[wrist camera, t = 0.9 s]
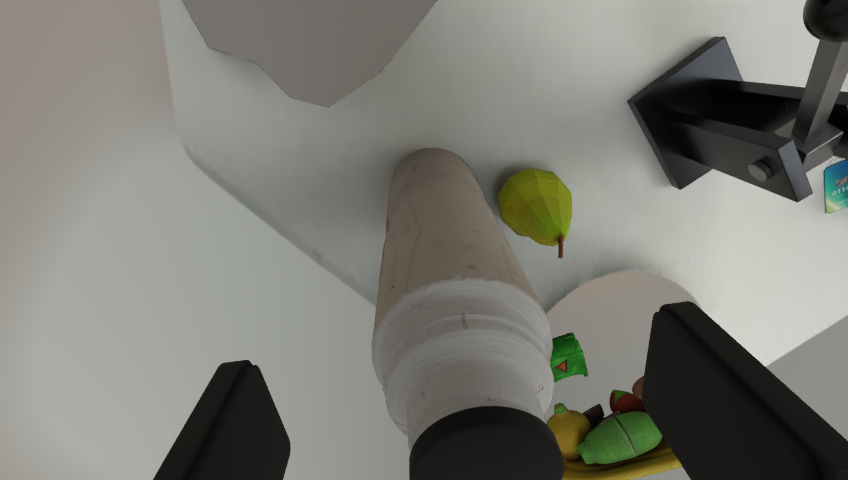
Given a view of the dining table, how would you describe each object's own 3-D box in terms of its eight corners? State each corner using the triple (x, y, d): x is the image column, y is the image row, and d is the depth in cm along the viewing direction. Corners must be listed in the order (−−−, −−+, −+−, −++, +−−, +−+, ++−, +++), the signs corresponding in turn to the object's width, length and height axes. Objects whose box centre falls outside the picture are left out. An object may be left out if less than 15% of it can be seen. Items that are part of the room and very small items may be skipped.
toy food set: (717, 394, 50) (693, 336, 50) (801, 442, 36) (766, 361, 37) (537, 444, 53) (517, 388, 54) (553, 504, 39) (526, 428, 40)
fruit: (571, 177, 38) (638, 230, 27) (536, 232, 40) (584, 301, 29) (512, 149, 36) (558, 193, 25) (480, 208, 38) (509, 271, 28)
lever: (790, -17, 17) (864, 11, 15) (868, -74, 17) (956, -51, 15) (754, 157, 28) (795, 186, 26) (800, 127, 27) (846, 155, 25)
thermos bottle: (395, 232, 39) (375, 566, 14) (385, 152, 36) (334, 404, 11) (476, 225, 39) (600, 546, 14) (474, 144, 36) (634, 377, 11)
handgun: (577, 422, 52) (487, 435, 53) (580, 327, 45) (475, 343, 46) (587, 442, 50) (491, 456, 50) (591, 345, 43) (480, 362, 43)
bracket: (626, 101, 35) (736, 128, 23) (714, 36, 33) (882, 31, 21) (672, 186, 38) (787, 246, 27) (754, 132, 36) (915, 172, 25)
